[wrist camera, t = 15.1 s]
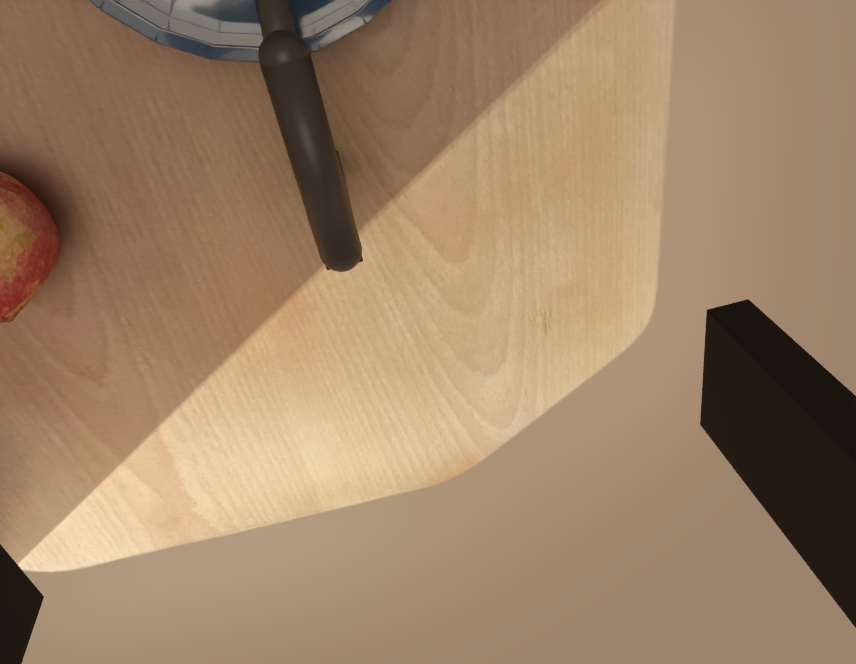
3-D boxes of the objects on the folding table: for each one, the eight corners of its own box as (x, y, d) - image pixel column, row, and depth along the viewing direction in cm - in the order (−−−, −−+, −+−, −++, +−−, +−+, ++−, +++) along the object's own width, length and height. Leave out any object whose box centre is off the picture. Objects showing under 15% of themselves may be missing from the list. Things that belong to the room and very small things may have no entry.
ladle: (120, -264, 25) (52, -308, 18) (279, -297, 26) (284, -356, 18) (276, 197, 37) (277, 296, 29) (385, 170, 37) (416, 261, 29)
